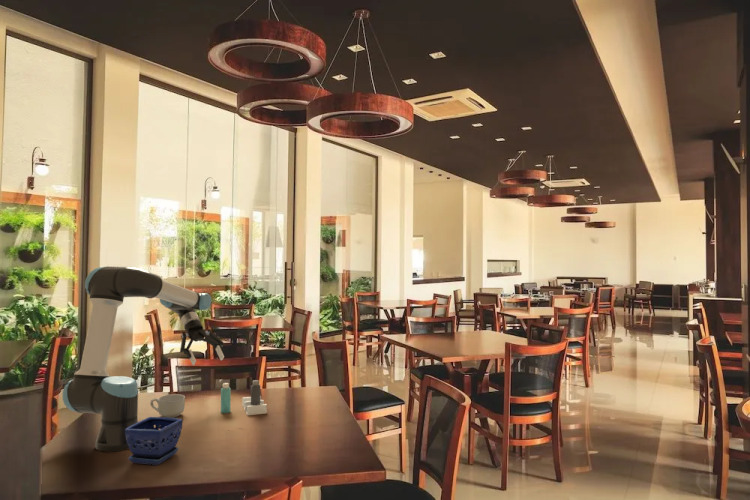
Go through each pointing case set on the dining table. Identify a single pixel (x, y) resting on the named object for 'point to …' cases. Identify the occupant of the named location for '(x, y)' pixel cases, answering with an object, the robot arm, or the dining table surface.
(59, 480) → the dining table surface
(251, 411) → the cord comb
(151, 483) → the dining table surface
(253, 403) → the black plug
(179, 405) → the teacup
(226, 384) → the teal bottle
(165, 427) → the flower pot
